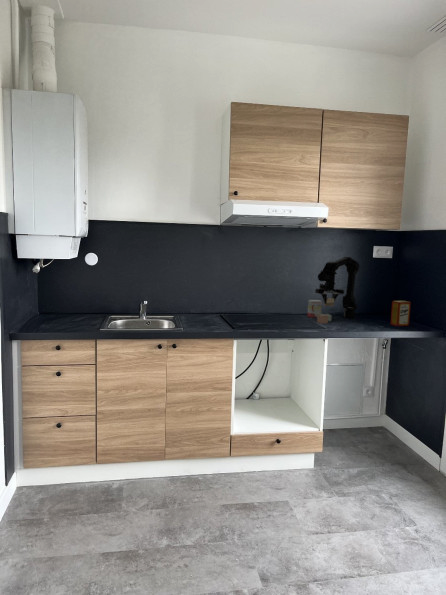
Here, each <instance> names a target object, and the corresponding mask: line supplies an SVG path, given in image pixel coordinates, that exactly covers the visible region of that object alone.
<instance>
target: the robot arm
mask: <svg viewBox="0 0 446 595" xmlns="http://www.w3.org/2000/svg"><path fill="white" fill-rule="evenodd" d="M342 266H344V267H346V272H347V274H348V275H347V284H346V293H345V291H344V289H343V288H342V289H341V288H335V285H336V282H335V281H336V275H337V274H338V272H336V271H337V270H338V269H339V268H340V267H342ZM359 269H360V263H359V262H358V261H357V260H355V259H354V258H352V257H351V256H344V257H341V258H339V259H338V260H335V261H328V262H326V263H325V264H324V267H323V269H322V270H320V272H319V273H318V275H317V279H318V281H320V282H324V284H323V283H320V284H319V285H318V286H319V288H315V290H314V293H316V294H319V295H321V298H322V299H323V300H322V301H323V304H324V303H325V304H326V299H327V298H328V297H327V296H328V293H331V296H332V297H331V298H334V302H335V301H336V299H337V298H338V296H340V295H341V294H342V295H343V294H344V296H342V301H341V303H342V309H344V311H343V317H344V318H347V319H355V318H356V316H355V314H356V310H358V305H357V303H356V298H355V295H354V292H355V284H356V283H355V282H356V275H357V274H358V272H359Z"/></svg>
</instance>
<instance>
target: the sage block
mask: <svg viewBox="0 0 446 595" xmlns="http://www.w3.org/2000/svg"><path fill="white" fill-rule="evenodd" d="M319 315H327V316H328V322H332V315H331V314H330V313H321V314H319Z"/></svg>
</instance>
